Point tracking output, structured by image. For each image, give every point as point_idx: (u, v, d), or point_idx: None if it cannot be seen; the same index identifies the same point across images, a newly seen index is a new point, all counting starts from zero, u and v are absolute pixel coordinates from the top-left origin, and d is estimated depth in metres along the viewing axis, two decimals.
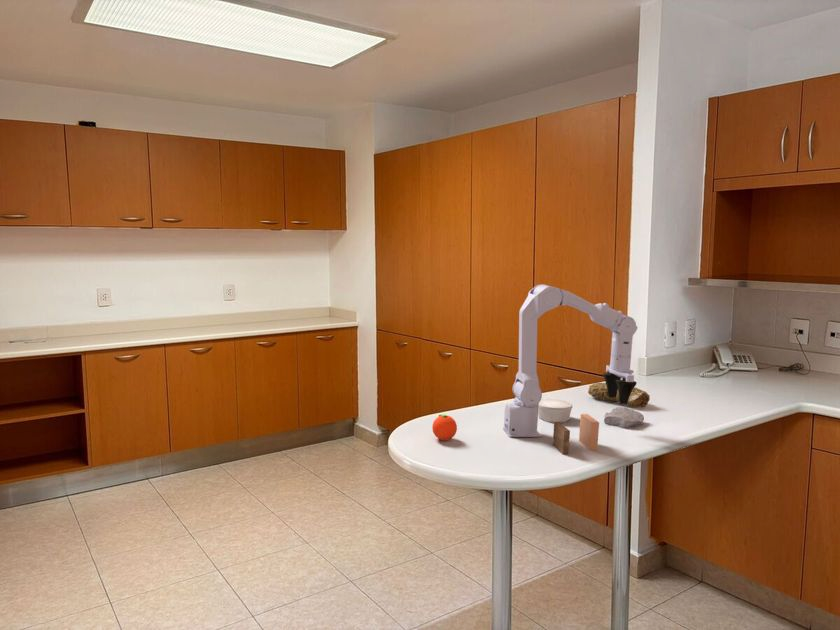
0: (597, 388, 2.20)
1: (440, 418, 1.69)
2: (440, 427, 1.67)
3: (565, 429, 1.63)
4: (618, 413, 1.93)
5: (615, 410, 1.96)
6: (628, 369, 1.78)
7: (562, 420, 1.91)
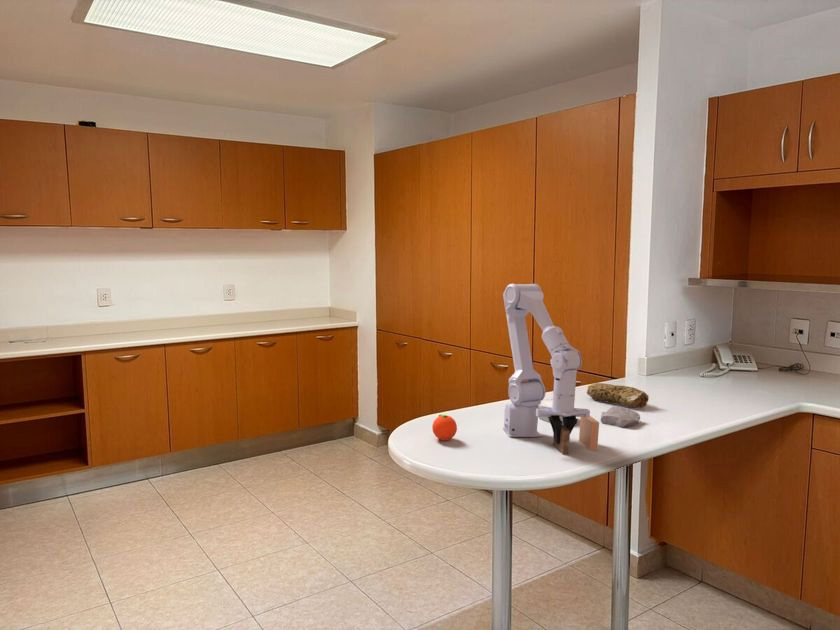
0: (596, 389, 2.19)
1: (440, 418, 1.69)
2: (440, 427, 1.67)
3: (565, 429, 1.63)
4: (614, 412, 1.94)
5: (611, 409, 1.97)
6: (556, 408, 1.63)
7: (562, 420, 1.91)
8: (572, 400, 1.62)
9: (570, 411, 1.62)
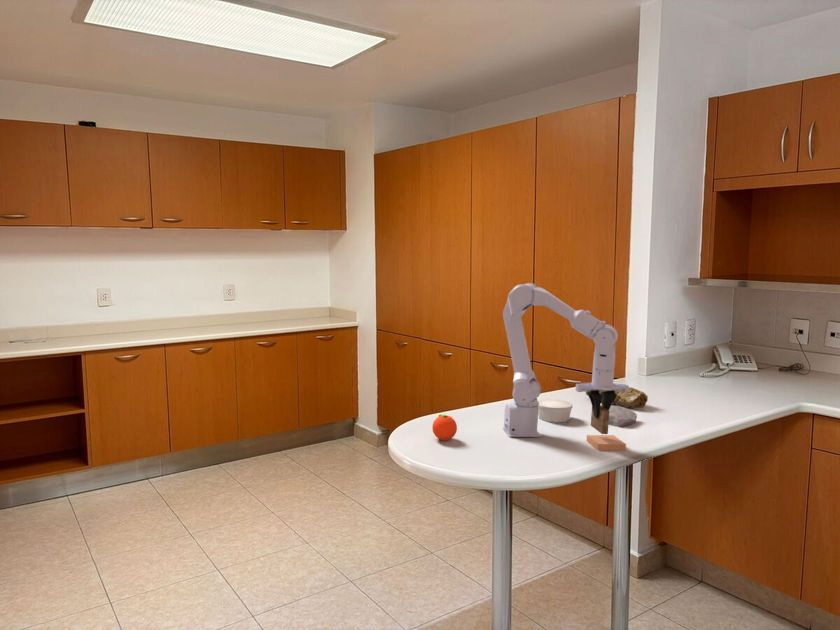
0: None
1: (440, 418, 1.69)
2: (440, 427, 1.67)
3: (604, 409, 1.67)
4: (611, 412, 1.95)
5: None
6: (596, 383, 1.67)
7: (562, 420, 1.91)
8: (612, 375, 1.66)
9: (610, 386, 1.66)
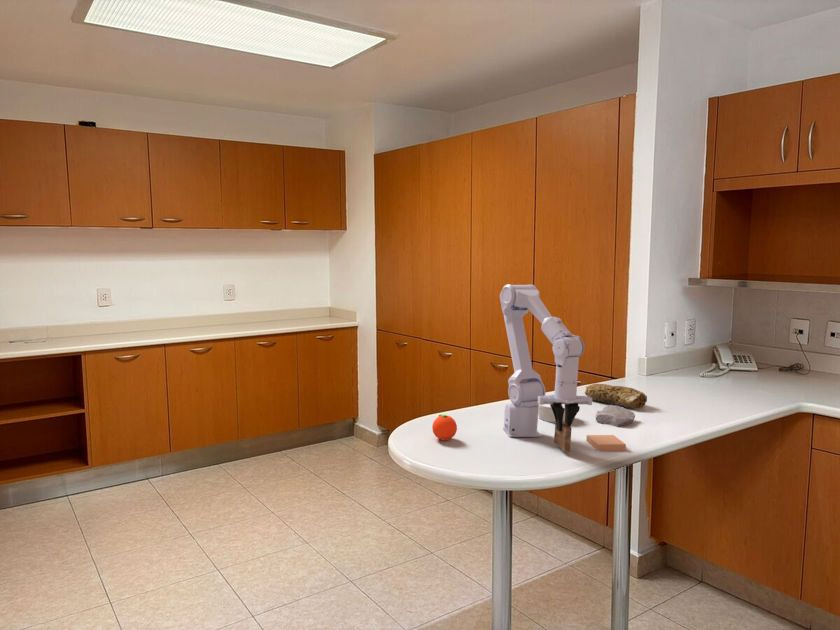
0: (594, 389, 2.18)
1: (440, 418, 1.69)
2: (440, 427, 1.67)
3: (566, 426, 1.62)
4: (609, 411, 1.95)
5: (606, 408, 1.98)
6: (559, 395, 1.62)
7: None
8: (574, 387, 1.61)
9: (572, 398, 1.61)
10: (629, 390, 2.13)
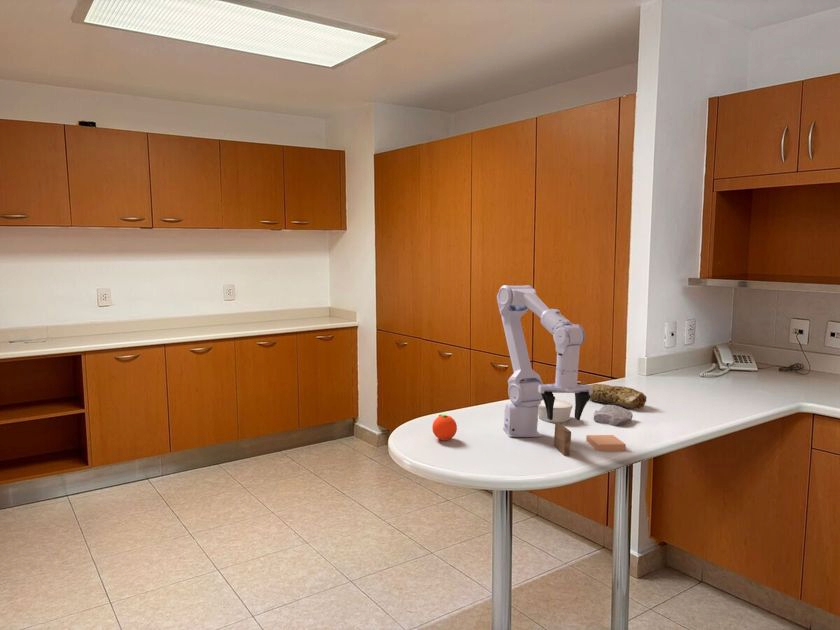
0: (593, 389, 2.18)
1: (440, 418, 1.69)
2: (440, 427, 1.67)
3: (566, 430, 1.62)
4: (607, 411, 1.95)
5: (604, 408, 1.98)
6: (559, 384, 1.61)
7: (562, 420, 1.91)
8: (575, 376, 1.61)
9: (573, 387, 1.61)
10: (628, 390, 2.13)
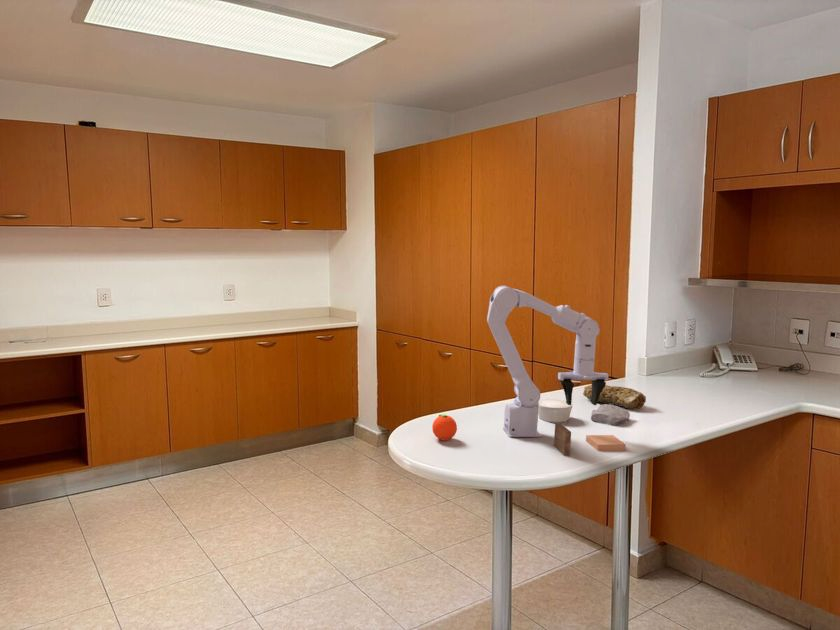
0: None
1: (440, 418, 1.69)
2: (440, 427, 1.67)
3: (566, 430, 1.62)
4: (605, 410, 1.96)
5: (601, 407, 1.99)
6: (577, 372, 1.75)
7: (562, 420, 1.91)
8: (592, 364, 1.75)
9: (590, 374, 1.75)
10: (628, 390, 2.12)
